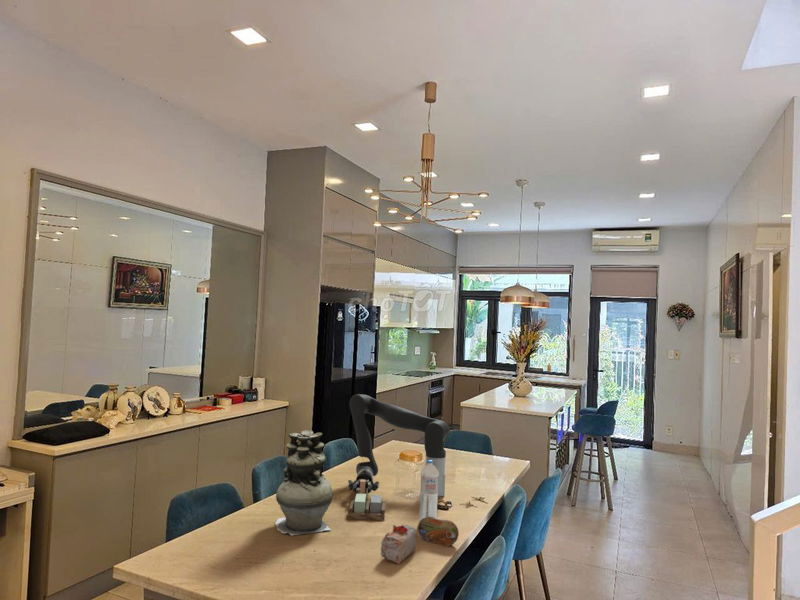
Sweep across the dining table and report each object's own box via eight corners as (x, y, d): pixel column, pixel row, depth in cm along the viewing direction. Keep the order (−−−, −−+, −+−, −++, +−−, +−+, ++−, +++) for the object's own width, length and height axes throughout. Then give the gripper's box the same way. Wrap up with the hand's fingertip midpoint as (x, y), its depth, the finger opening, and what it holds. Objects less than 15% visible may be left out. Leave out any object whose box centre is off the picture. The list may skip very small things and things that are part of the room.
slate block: (380, 510, 221) (381, 495, 221) (379, 517, 212) (380, 502, 212) (371, 509, 221) (371, 494, 221) (369, 517, 212) (370, 502, 212)
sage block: (366, 503, 228) (367, 479, 228) (363, 517, 211) (365, 491, 212) (357, 502, 228) (358, 479, 228) (353, 516, 211) (355, 491, 212)
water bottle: (438, 524, 207) (441, 459, 208) (433, 530, 201) (436, 463, 202) (421, 521, 209) (424, 457, 211) (416, 527, 203) (419, 461, 204)
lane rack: (385, 509, 221) (385, 501, 221) (384, 520, 209) (384, 511, 209) (351, 507, 221) (352, 499, 221) (348, 518, 209) (349, 509, 209)
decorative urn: (282, 542, 185) (287, 441, 186) (268, 519, 204) (272, 428, 205) (339, 532, 195) (344, 437, 196) (320, 511, 214) (325, 424, 214)
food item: (400, 567, 169) (401, 535, 170) (378, 561, 173) (379, 530, 173) (417, 551, 182) (419, 522, 182) (397, 546, 185) (398, 517, 186)
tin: (417, 539, 192) (418, 515, 192) (420, 536, 195) (421, 513, 195) (455, 549, 185) (456, 524, 185) (459, 546, 188) (460, 521, 188)
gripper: (349, 469, 241) (345, 480, 224) (380, 471, 241) (379, 482, 224) (348, 486, 241) (344, 498, 224) (380, 488, 240) (378, 500, 223)
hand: (361, 490), depth 224 cm, fingers open, 5 cm apart
